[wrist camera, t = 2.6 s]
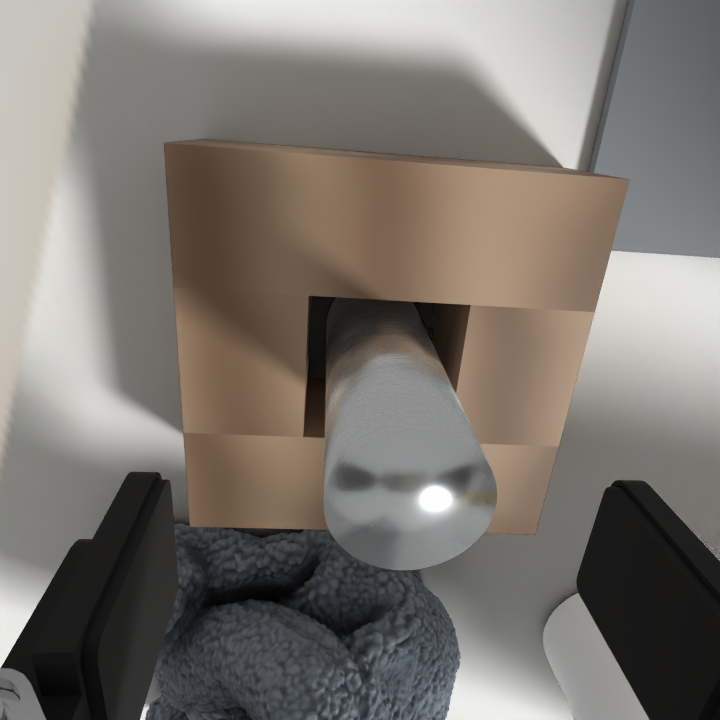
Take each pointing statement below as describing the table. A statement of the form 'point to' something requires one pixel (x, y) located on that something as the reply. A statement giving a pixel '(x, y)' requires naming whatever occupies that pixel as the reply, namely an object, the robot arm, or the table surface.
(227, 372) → the socket block
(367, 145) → the table surface
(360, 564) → the koala plush
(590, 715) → the water bottle
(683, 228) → the pad
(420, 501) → the pin
